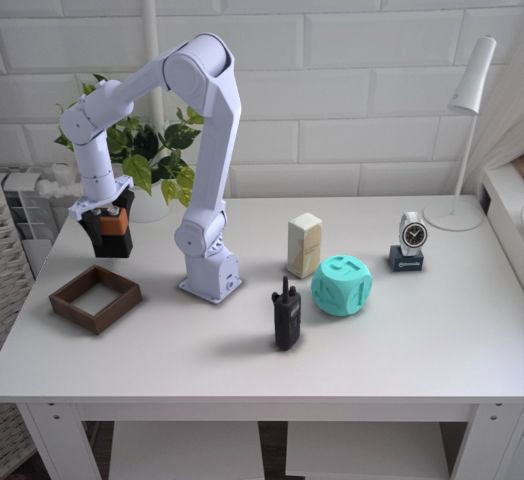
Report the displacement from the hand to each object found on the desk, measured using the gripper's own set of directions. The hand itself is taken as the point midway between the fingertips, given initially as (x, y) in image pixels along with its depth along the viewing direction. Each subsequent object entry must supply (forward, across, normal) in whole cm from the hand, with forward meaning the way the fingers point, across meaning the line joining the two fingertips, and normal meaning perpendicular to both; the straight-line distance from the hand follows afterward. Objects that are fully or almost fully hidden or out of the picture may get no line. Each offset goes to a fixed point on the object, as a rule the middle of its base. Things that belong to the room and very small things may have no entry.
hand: (110, 234), depth 120 cm
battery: (+4, 0, 0) cm, 4 cm away
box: (+7, -18, +32) cm, 38 cm away
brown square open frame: (+7, +12, +6) cm, 15 cm away
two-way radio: (+7, 0, +40) cm, 41 cm away
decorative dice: (+7, -14, +44) cm, 46 cm away
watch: (+7, -30, +48) cm, 58 cm away
